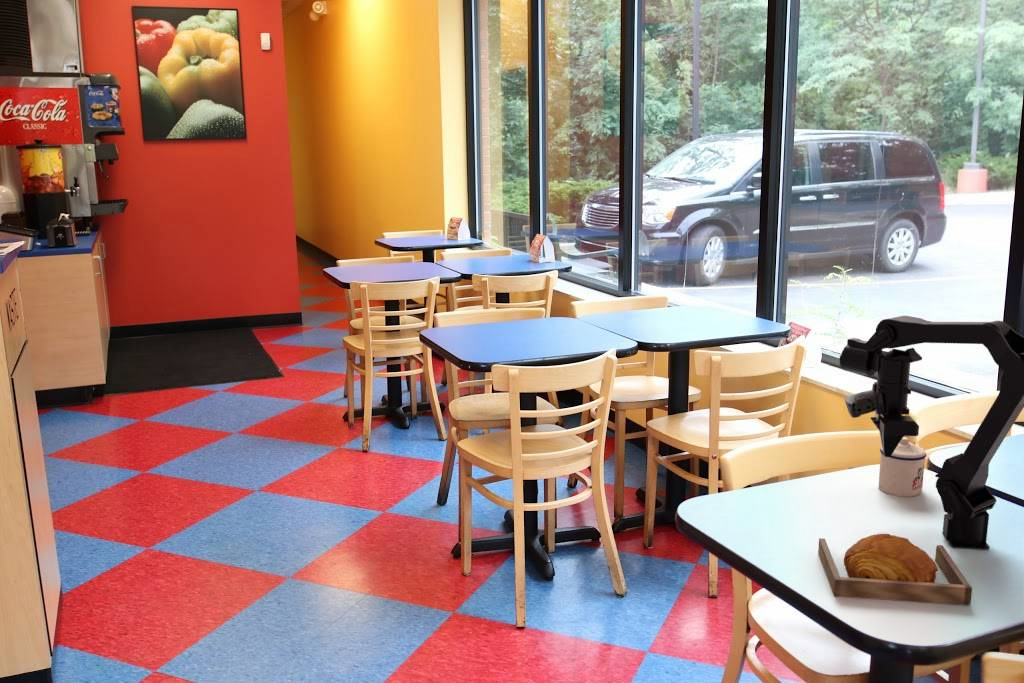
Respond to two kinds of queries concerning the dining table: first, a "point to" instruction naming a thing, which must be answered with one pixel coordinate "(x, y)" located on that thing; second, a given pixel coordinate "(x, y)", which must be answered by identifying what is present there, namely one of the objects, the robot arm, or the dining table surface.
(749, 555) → the dining table surface
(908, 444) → the teacup with lid
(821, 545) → the walnut u-shaped frame
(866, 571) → the croissant
